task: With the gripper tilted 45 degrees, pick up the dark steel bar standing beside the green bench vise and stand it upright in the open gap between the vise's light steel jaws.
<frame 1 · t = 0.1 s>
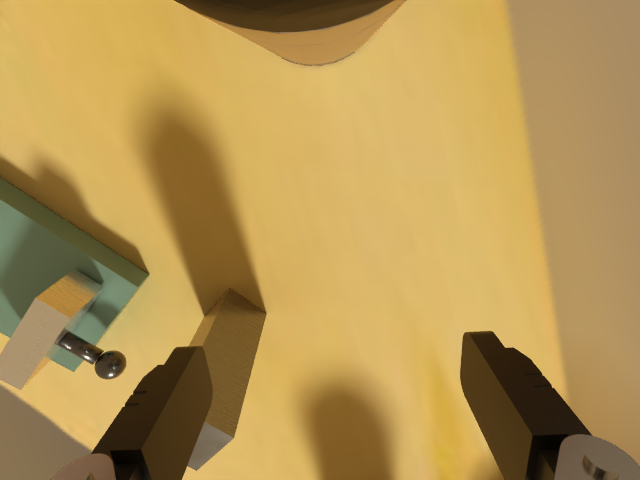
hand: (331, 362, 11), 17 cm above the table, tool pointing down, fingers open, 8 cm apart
vise jaw: (79, 346, 28), point 4 cm above the table, slide at 0.0 cm
steel bar: (235, 315, 31), on the table
vise: (31, 266, 30), on the table
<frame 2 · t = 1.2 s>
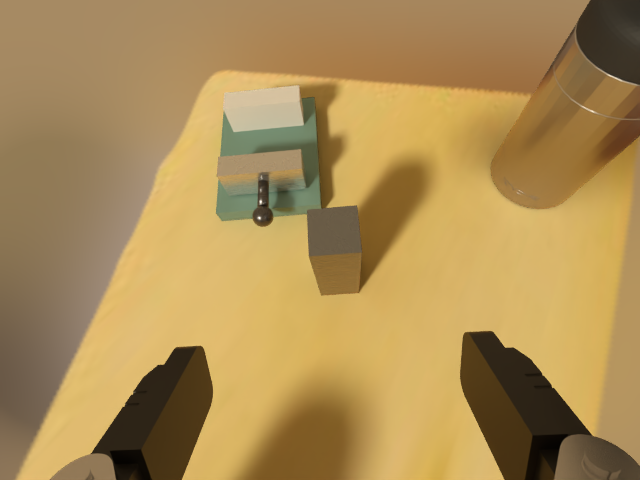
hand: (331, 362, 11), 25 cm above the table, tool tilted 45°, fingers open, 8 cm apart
vise jaw: (263, 193, 38), point 4 cm above the table, slide at 0.0 cm
steel bar: (338, 276, 38), on the table
vise: (271, 161, 45), on the table
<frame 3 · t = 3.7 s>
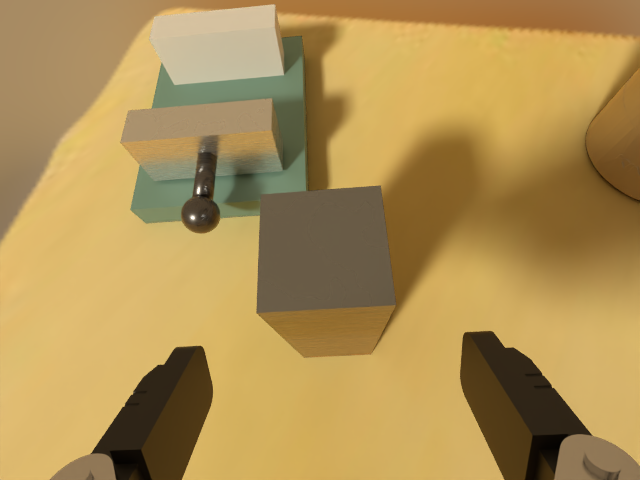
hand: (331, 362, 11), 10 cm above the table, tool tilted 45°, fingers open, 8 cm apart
vise jaw: (205, 175, 22), point 4 cm above the table, slide at 0.0 cm
steel bar: (335, 322, 22), on the table
vise: (233, 131, 29), on the table
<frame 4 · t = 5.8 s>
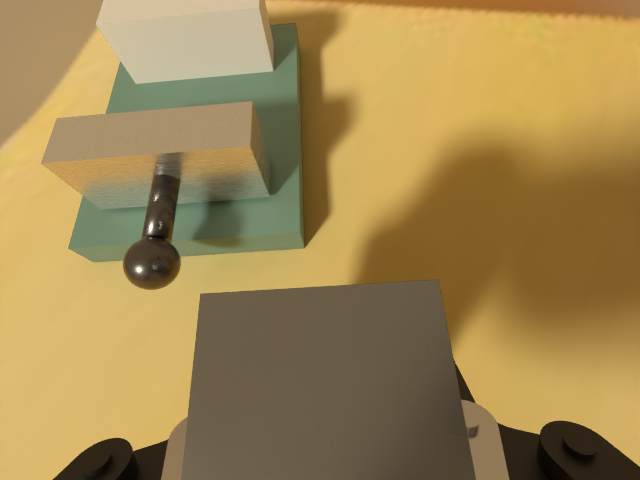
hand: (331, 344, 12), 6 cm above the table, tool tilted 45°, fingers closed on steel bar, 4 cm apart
vise jaw: (162, 206, 16), point 4 cm above the table, slide at 0.0 cm
steel bar: (339, 406, 16), on the table, touching gripper
vise: (210, 141, 23), on the table
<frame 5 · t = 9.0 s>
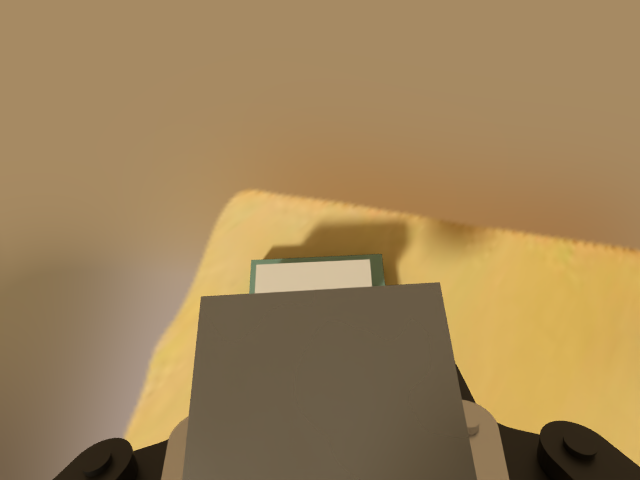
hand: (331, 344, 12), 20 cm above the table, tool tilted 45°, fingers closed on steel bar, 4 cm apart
steel bar: (340, 407, 16), point 14 cm above the table, touching gripper
vise: (319, 350, 31), on the table
when the fingers open (9 cm above the table, at t = 12.5 s): steel bar drops 1 cm, resting on vise.
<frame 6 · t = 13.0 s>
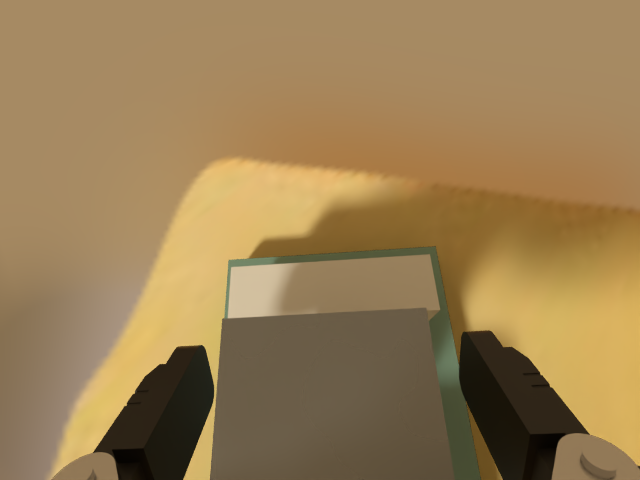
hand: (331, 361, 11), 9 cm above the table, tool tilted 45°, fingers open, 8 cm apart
steel bar: (340, 409, 17), point 2 cm above the table, touching vise
vise: (340, 405, 19), on the table
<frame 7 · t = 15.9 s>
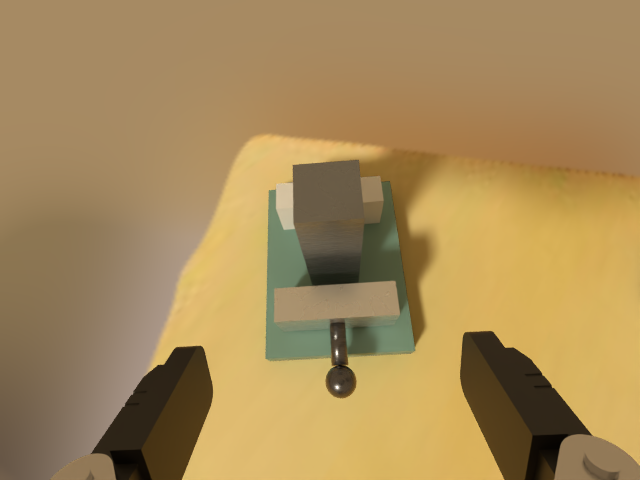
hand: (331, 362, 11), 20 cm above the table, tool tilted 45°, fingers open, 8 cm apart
vise jaw: (338, 341, 26), point 4 cm above the table, slide at 0.0 cm
steel bar: (334, 263, 31), point 2 cm above the table, touching vise
vise: (334, 268, 33), on the table
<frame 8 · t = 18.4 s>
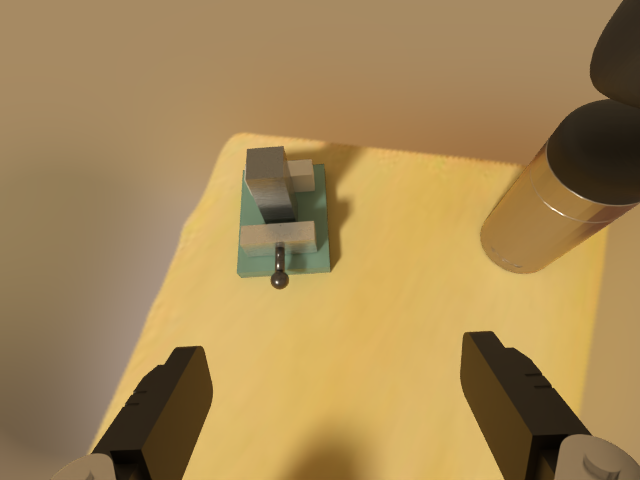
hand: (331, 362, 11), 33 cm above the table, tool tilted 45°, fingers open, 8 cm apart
vise jaw: (279, 258, 43), point 4 cm above the table, slide at 0.0 cm
steel bar: (283, 216, 48), point 2 cm above the table, touching vise
vise: (285, 221, 50), on the table
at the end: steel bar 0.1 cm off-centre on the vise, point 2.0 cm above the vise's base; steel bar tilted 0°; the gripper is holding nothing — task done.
